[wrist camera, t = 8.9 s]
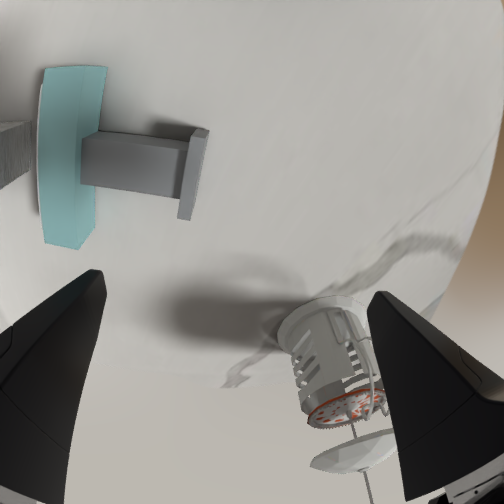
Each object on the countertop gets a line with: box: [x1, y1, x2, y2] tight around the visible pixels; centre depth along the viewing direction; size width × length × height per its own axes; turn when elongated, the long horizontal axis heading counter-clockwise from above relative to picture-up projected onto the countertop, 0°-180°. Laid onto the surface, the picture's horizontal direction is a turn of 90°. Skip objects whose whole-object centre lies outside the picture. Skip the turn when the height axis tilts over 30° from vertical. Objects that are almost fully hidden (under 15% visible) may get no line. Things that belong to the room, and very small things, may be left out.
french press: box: [277, 295, 397, 504], centre depth 17 cm, size 10×12×25 cm
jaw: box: [36, 66, 209, 250], centre depth 15 cm, size 11×12×3 cm
